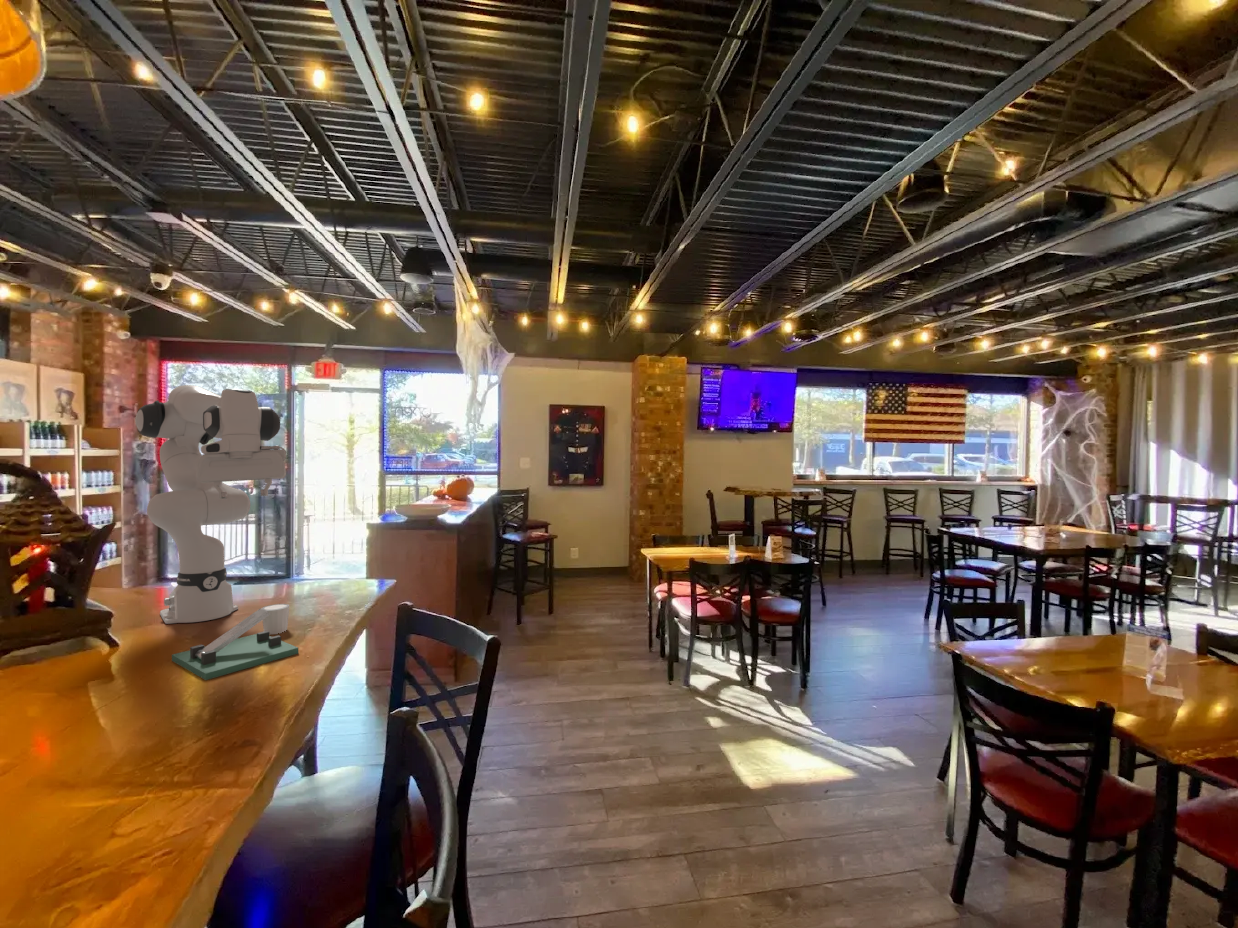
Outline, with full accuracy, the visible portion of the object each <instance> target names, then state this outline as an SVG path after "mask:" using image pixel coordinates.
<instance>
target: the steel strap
mask: <svg viewBox="0 0 1238 928" xmlns="http://www.w3.org/2000/svg"><path fill="white" fill-rule="evenodd" d="M261 608H262V607H260V608H258V609H257V610H256V611H254V612H253V613H252V614H250V615H249V616H247V617H245V618H244V619H243V620H242V621H241V622H239V623H237V624H236V625H234V626H233V627H232V628H230V629H229V630H227V631H226V632H224V633H223V634H222V635H220V636H219V637H217V638H216V639H214V640H213V641H212V642H211V643H209V644H207V645H206V647H205V646H204V648H203V649H202V650H198V651H197V652H196V653H195V656H196V657H197V658H199V659H201V653H203V652H207V651H211V650H214V651H216V653H217V652H219V651H220V650H221V649H223V648H224V647H226V646H227V645H228V644H230V643H231V642H233V641H234V640H235V639H238V638H240V637H241V636H242V635H244V634H245V633H247V632H248V631H249V630H251V629H252V628H253V627H255V626H256V625H257V624H259V623H261V622H263V619H265V618H266V617H267V616H269V615H270V614H269V612H268V611H266V610H263V609H261Z"/></svg>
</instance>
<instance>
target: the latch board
mask: <svg viewBox="0 0 1238 928" xmlns="http://www.w3.org/2000/svg"><path fill="white" fill-rule="evenodd" d="M206 646H207V645H206ZM206 646H205V645H204V644H198V645H194V646H190V647H189V650H184V651H181V652H177V653H173V654H171V662H173V663H175V664H177V665H179V666H180V667H182V668H184V669H185V670H187V671H189V672H191V673H192V674H194V675H196V676H198V677H199V678H201V679H203V680H204V681H208V680H212V679H214V678H218V677H221V676H225V675H228V674H232V673H235V672H238V671H243V670H246V669H250V668H252V667H256V666H260V665H263V664H266V663H271V662H274V661H277V660H280V659H284V658H288V657H292V656H295V655H298V654H299V647H298V646H296V645H293V644H290V643H288V642H285V641H283V640H282V636H280V635H278V634H277V635H275V636H270V635H269V631H264V630H263V631H260V632H257V633H254V634H251V635H247V636H246V635H245V636H243V637H238V638H237V639H235V640H234V641H233V642H231V643H230V644H228V645H227V646H226V647H224V648H223V649H221V650H220V651H219V652H217V653H216V651H214V650H211V651H207V652H203V653H201V659H199V658H197V657H196V656H195V653H196V652H197V651H198V650H202V649H203V648H204V647H206ZM273 660H274V661H273Z"/></svg>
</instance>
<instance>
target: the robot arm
mask: <svg viewBox="0 0 1238 928" xmlns="http://www.w3.org/2000/svg"><path fill="white" fill-rule="evenodd" d="M134 422H135V427H136V428H137V431H138V433H140V435H141V436H143V437H147V438H153V439H156V438H160V439H167V440H166V441H164V442H163V443H162V445H161V446H160V448H159V462H160V466H161V469H162V472H163V475H164V476H165V479H166V482H167V485H168V488H170V489H171V491H165V492H162V493H157V494H155V495H153V496H152V498H151V499H150V500H149V501H148V504H147V506H146V507H147V508H146V514H147V517H148V519H149V520H150V522H151V523H152V524H154V526H156V527H158V528H160V529H162V530H163V531H164V532H166V533H167V534H168V535H169V536H171V538H172V539H173V540H174V542H175V544H176V547H177V552H178V561H179V572H178V573H177V577H176V586H175V588H174V589H173V591H171V593H170V594H169V597H165V598H164V599H163V604H164V606H165V607H167V606H168V607H167V608H165V609H161V610H160V612H159V615H160V616H161V619H162V620H163V622H164V623H165V624H166V625H167V624H168V625H169V624H170V625H171V624H177V623H178V624H179V623H181V624H182V623H187V624H188V623H198V622H206V621H210V620H211V621H212V620H216V619H220V618H224V617H226V616H229V615H230V614H232V613H233V612H234V611H237V610H239V606H238V605H236V604H234V601H233V600H234V597H233V589H232V588H233V586H232V584H230V583H229V582H228V581H226V580H227V568H226V567H225V545H224V543H223V542H222V541H221V540H220V539H218V538H217V537H213V536H212V535H211V536H210V535H207V534H204V533H203V531H202V526H207V525H219V524H229V523H233V522H235V521H241V520H244V519H245V518H246V516H247V515H248V514H249V512H250V509H251V500H250V497H249V496H248V494H247V493H246V492H245V490H242V489H239V488H236V487H232V486H230V485H227V483H226V482H241V481H244V482H245V481H258V480H259V481H260V480H261V481H262V480H264V483H265V484H266V485H265V486H264V488H263V489H260V491H259V492H260V496H261V497H268V496H269V491H268V490H269V489H270V488H271V486H272V484H273V480H275V479H276V480H277V479H284V478H285V477H286V475H287V469H286V464H285V461H286V459H287V451H286V450H285V448H283V447H282V446H280V445H261V441H264V442H265V441H266V442H268V441H270V440H272V439H273V438H275V436H277V435H278V434H279V432H280V429H281V420H280V417H279V415H278V414H277V412H276V411H275V410H274V409H273V408H271V406H270V407H269V406H259V404H258V399H257V396H256V393H255V392H254V391H252V390H249V389H242V388H226V389H225V388H224V389H223V390H222V391H221V394H217V393H215V392H212V391H210V390H208V389H207V388H204V387H201V386H197V385H193V384H192V385H191V384H183V385H178V386H177V387H175V388H173V389H172V390H171V391H170V393H169V395H168V400H167V401H166V402H160V401H159V400H155V401H154V402H153V403H148V404H145V405H142V406H141V407H140V408H139V409H138V410H137V413H136V415H135V420H134ZM214 438H216V439H221V440H217V441H214V442H209V441H211V440H213V439H214ZM199 445H202V446H201V447H200V448H199ZM224 482H225V483H224Z"/></svg>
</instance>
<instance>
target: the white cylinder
mask: <svg viewBox="0 0 1238 928" xmlns="http://www.w3.org/2000/svg"><path fill="white" fill-rule="evenodd" d="M260 608H261V609H263V610H266V611H268V612H269V614H270V615H269V616H267V617H266V618H265V619H263V620H262V626H263V632H264V631H269V636H270V635H278V633H279V634H283V633H285V632H287V631H288V626H289V624H288V623H289V614H290V604H288V603H287V604H286V603H275V604H270V605H266V606H263V607H260ZM286 630H287V631H286ZM284 631H285V632H284ZM282 632H283V633H282Z"/></svg>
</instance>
